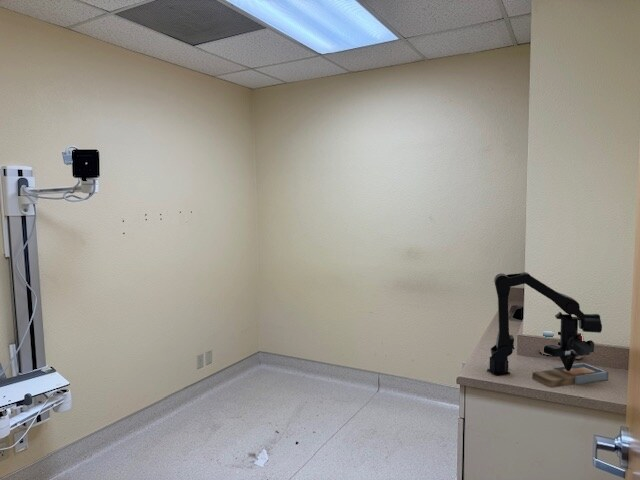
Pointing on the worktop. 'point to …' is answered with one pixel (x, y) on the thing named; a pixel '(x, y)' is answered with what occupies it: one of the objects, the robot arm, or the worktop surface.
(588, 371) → the tile
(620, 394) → the worktop surface
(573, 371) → the tile
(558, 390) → the worktop surface
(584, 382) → the box
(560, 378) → the bench board
